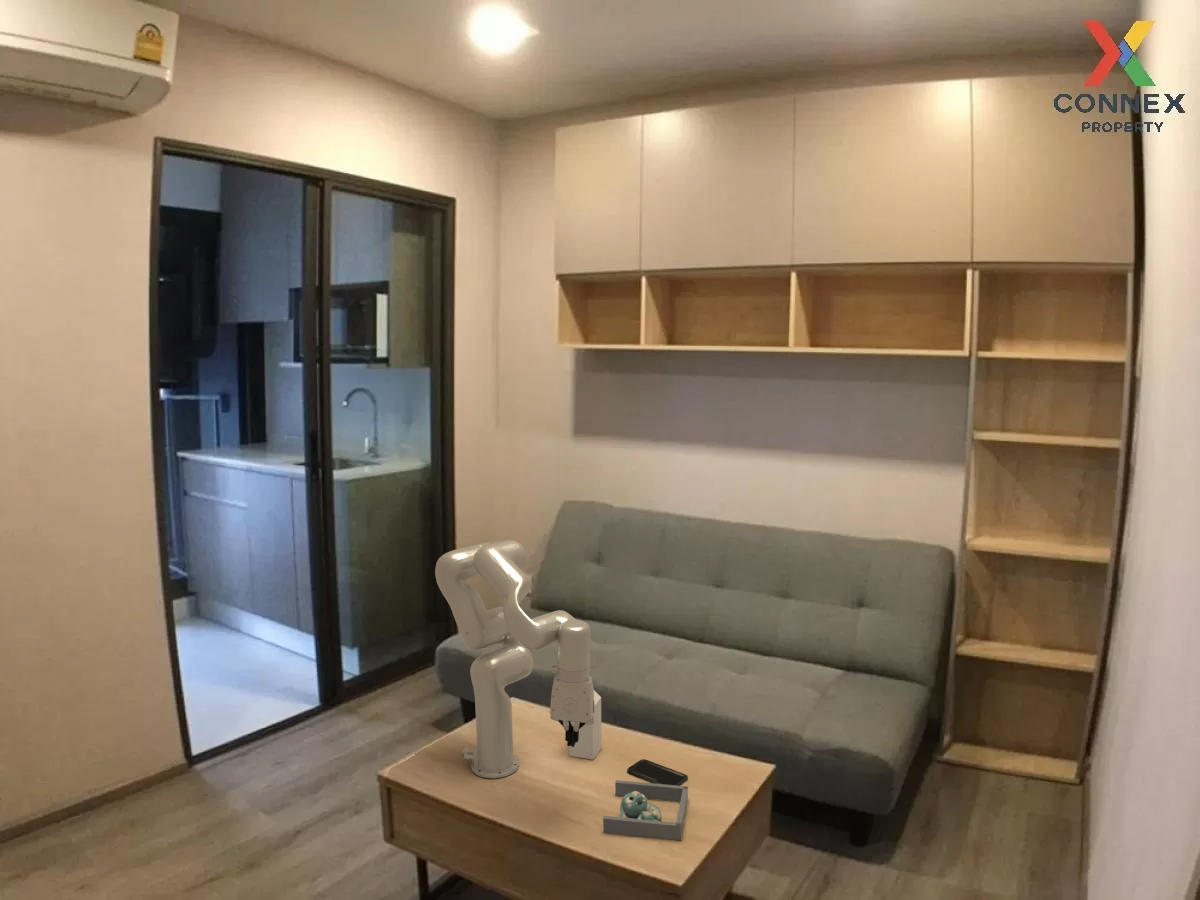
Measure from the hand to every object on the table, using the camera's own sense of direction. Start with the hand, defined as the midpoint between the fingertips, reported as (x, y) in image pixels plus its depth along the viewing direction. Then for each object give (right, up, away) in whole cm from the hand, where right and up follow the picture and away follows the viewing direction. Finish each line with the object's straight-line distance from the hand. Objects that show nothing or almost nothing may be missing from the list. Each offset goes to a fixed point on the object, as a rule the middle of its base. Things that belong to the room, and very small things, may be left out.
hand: (571, 743), depth 209 cm
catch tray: (+18, -17, -2) cm, 25 cm away
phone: (+22, -15, +17) cm, 31 cm away
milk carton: (+3, -13, +29) cm, 32 cm away
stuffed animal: (+16, -17, -4) cm, 24 cm away
